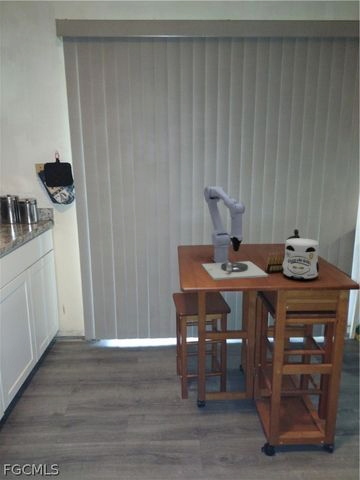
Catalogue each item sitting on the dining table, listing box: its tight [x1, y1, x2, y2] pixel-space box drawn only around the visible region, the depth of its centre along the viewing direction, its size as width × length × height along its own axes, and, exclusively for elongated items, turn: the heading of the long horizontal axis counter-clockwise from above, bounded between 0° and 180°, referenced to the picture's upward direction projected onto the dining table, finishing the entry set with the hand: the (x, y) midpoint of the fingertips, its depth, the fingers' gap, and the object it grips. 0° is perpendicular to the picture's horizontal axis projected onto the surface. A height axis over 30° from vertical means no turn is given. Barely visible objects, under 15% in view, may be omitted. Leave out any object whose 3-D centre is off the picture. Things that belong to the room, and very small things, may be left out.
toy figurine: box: [284, 228, 301, 244], centre depth 225 cm, size 9×19×25 cm
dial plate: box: [201, 260, 269, 281], centre depth 197 cm, size 26×28×1 cm
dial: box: [221, 261, 248, 272], centre depth 196 cm, size 18×14×5 cm
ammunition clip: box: [264, 250, 285, 274], centre depth 192 cm, size 11×2×12 cm, turn 98°
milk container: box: [282, 237, 320, 281], centre depth 184 cm, size 17×17×18 cm
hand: (236, 251), depth 201 cm, fingers closed
